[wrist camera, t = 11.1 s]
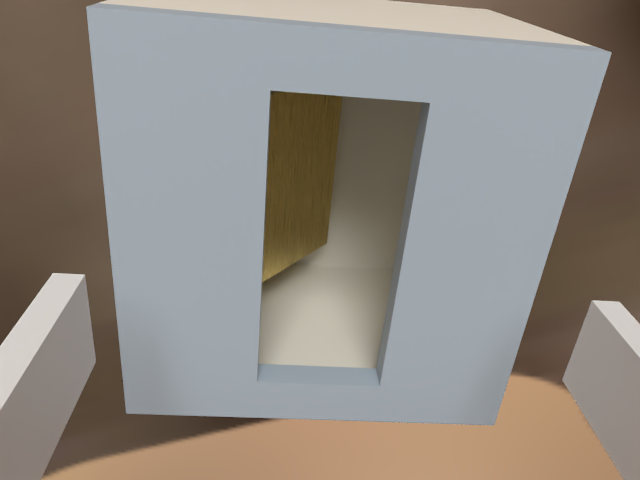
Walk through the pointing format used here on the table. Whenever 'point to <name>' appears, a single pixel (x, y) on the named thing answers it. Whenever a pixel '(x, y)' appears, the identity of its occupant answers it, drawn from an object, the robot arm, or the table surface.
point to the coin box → (332, 202)
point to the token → (299, 176)
